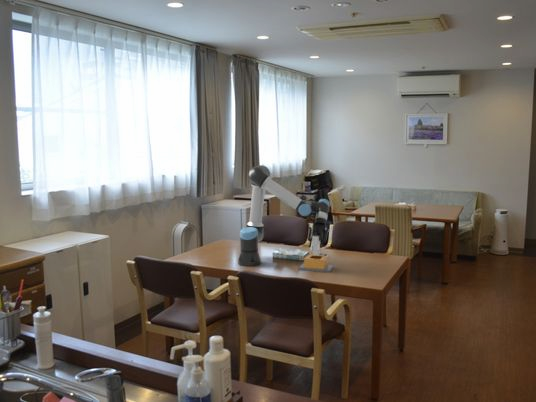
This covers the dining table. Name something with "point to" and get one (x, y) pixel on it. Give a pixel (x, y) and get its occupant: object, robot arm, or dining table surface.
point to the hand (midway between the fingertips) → (314, 250)
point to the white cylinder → (315, 244)
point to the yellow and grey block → (316, 263)
